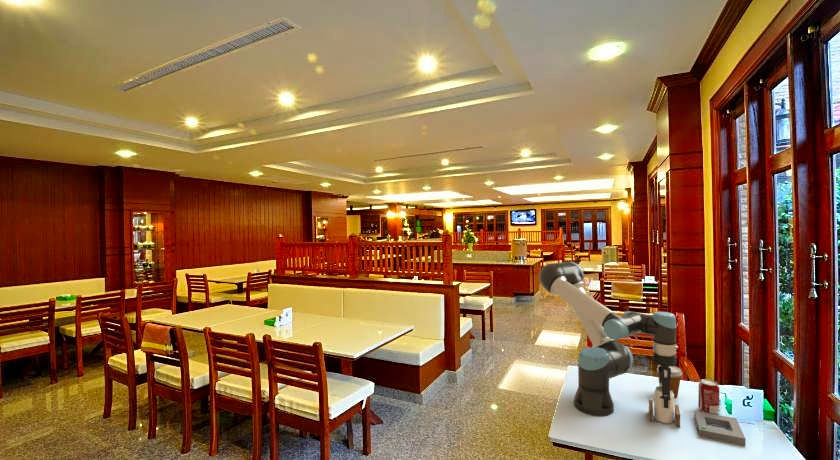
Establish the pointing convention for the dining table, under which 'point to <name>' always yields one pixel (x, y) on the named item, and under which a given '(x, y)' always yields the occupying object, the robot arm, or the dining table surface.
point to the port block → (715, 433)
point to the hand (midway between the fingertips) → (664, 407)
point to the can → (658, 406)
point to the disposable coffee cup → (673, 379)
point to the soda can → (708, 396)
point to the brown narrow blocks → (677, 413)
